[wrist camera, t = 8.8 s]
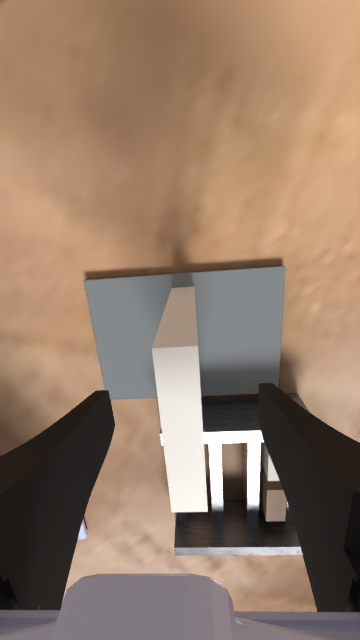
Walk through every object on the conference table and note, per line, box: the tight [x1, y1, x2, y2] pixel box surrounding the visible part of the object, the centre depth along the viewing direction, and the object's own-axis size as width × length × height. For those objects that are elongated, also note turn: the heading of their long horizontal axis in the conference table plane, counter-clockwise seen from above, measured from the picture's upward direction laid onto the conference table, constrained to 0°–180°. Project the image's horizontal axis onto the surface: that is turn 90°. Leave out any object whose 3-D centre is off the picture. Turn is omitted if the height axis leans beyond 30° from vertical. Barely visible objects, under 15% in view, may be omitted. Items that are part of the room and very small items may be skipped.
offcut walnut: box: [259, 460, 287, 521], centre depth 23 cm, size 2×4×3 cm, turn 4°
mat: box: [84, 266, 285, 400], centre depth 20 cm, size 14×10×1 cm
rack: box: [160, 394, 310, 555], centre depth 22 cm, size 11×13×4 cm
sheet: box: [152, 286, 208, 512], centre depth 15 cm, size 2×8×10 cm, turn 4°
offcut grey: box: [260, 442, 280, 481], centre depth 22 cm, size 2×4×3 cm, turn 5°
